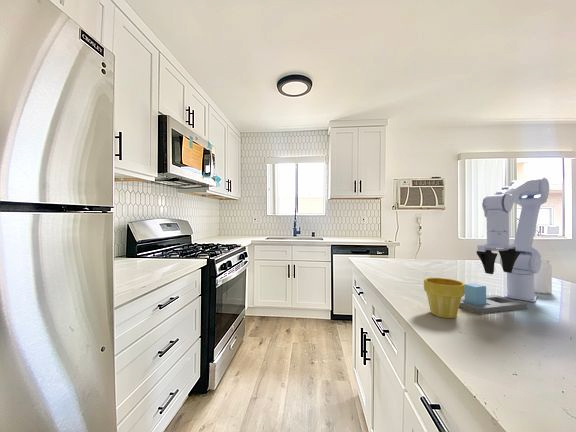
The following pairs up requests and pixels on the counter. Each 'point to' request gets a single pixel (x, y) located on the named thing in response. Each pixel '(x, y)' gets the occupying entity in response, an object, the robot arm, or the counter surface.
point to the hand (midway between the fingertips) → (498, 273)
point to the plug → (475, 294)
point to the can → (543, 278)
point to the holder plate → (494, 305)
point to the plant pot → (444, 296)
